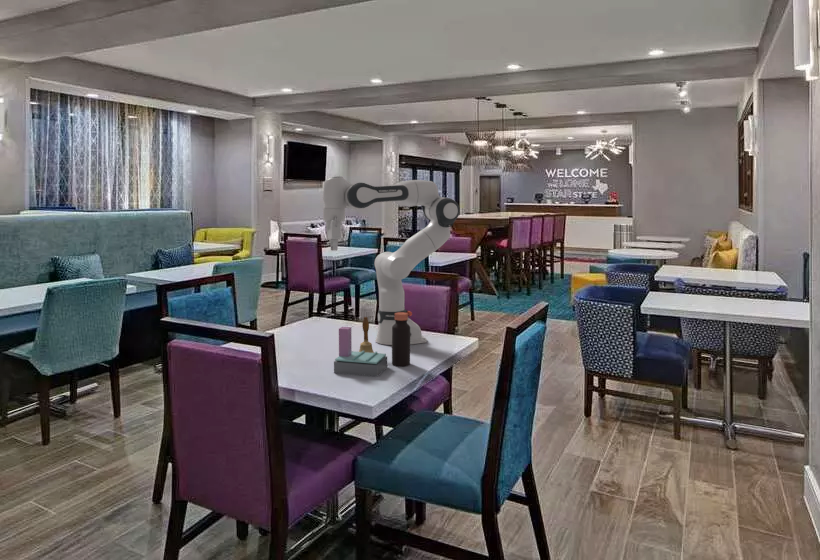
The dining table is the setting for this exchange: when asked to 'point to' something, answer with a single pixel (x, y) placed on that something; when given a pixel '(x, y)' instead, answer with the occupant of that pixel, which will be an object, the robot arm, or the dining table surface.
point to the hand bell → (366, 338)
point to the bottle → (401, 340)
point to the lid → (350, 355)
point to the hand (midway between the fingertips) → (334, 250)
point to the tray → (360, 368)
